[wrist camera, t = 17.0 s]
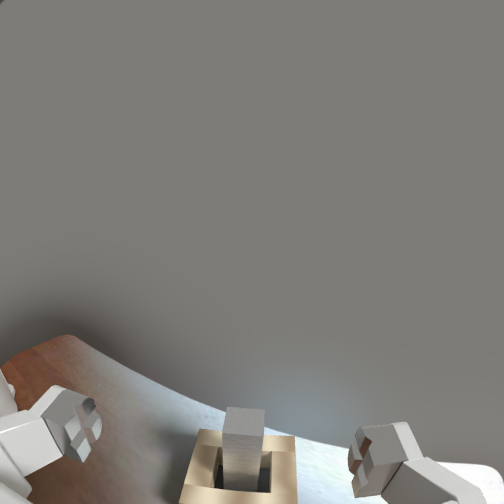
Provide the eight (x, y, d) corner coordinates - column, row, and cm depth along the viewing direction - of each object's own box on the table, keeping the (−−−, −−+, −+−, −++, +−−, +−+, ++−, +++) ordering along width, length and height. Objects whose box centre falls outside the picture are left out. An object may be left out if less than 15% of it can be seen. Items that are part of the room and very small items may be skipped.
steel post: (224, 496, 29) (222, 432, 25) (227, 473, 32) (227, 406, 29) (255, 498, 28) (263, 436, 25) (257, 476, 32) (264, 409, 29)
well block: (183, 516, 24) (178, 502, 23) (201, 447, 37) (199, 428, 36) (292, 526, 24) (297, 513, 23) (290, 454, 36) (294, 435, 35)
